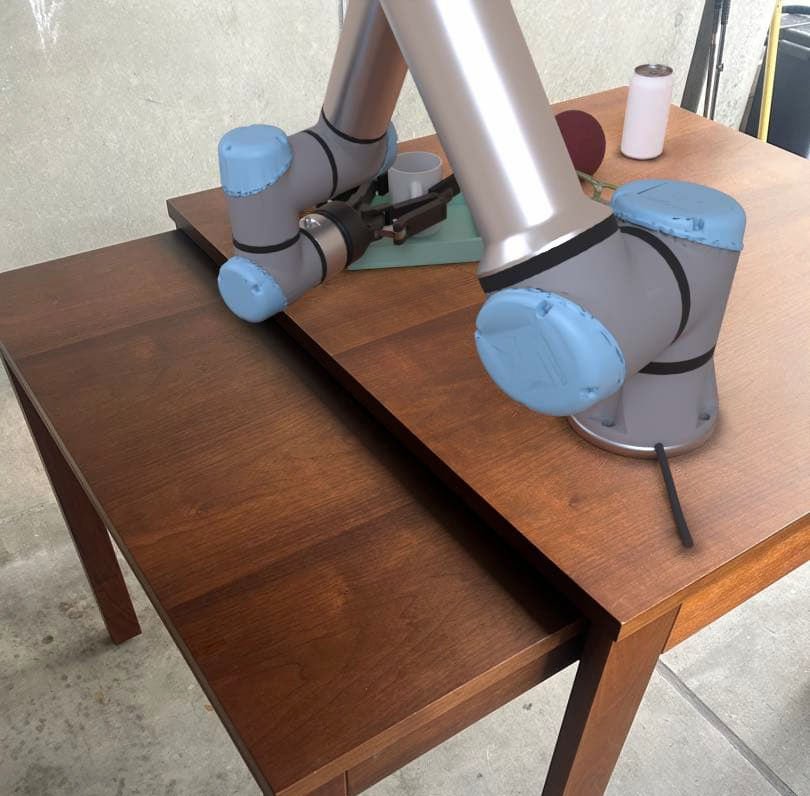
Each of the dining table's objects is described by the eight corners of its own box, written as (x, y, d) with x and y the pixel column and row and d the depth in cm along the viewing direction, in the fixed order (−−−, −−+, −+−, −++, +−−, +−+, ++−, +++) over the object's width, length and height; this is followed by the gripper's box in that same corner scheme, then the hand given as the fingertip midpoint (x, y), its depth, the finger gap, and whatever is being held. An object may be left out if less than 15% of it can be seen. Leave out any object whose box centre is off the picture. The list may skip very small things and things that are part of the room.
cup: (441, 214, 122) (440, 150, 116) (445, 247, 115) (445, 181, 109) (390, 217, 122) (387, 152, 116) (391, 250, 115) (388, 183, 109)
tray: (489, 260, 114) (489, 239, 112) (348, 270, 113) (346, 248, 111) (472, 206, 126) (473, 185, 123) (345, 214, 125) (343, 194, 123)
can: (646, 141, 140) (659, 60, 131) (670, 155, 135) (685, 72, 127) (612, 149, 138) (622, 67, 129) (635, 163, 134) (648, 79, 125)
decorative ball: (568, 202, 125) (575, 130, 118) (520, 181, 131) (524, 111, 123) (615, 182, 129) (625, 112, 122) (566, 163, 135) (573, 94, 128)
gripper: (392, 233, 98) (498, 163, 110) (258, 192, 106) (371, 132, 119) (395, 293, 103) (495, 220, 116) (267, 249, 112) (374, 186, 125)
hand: (432, 175), depth 117 cm, fingers closed on cup, 8 cm apart
